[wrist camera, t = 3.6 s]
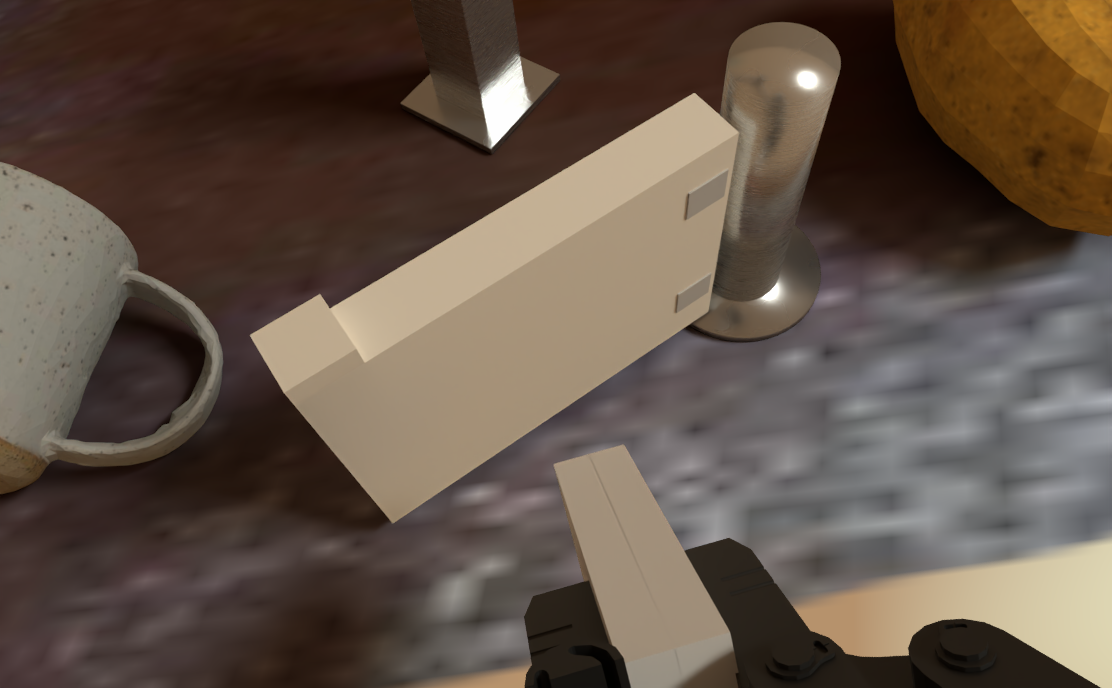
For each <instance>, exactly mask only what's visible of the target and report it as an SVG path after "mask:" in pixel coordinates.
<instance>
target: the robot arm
mask: <svg viewBox="0 0 1112 688" xmlns="http://www.w3.org/2000/svg"><path fill="white" fill-rule="evenodd" d="M554 468H555V472H556V476H557V480H558V484H559V487H560V491H561V495H562V499H563V503H564V507H565V510H566V514H567V518H568V522H569V526H570V530H571V534H572V537H573V541H574V545H575V549H576V553H577V557H578V560H579V564H580V568H581V572H582V576H583V579H584V582H581V583H578V584H574V585H571V586H567V587H564V588H560V589H557V590H554V591H550V592H547V593H543V594H540V595H536V596H533V598H532V600H531V602H530V605H529V607H528V609H527V612H526V614H525V616H524V619H525V625H526V631H527V637H528V643H529V649H530V654H531V661H532V666H531V667H530V669H529V670H528V672H527V674H526V680H525V688H1100V687H1098V686H1097V685H1095V684H1093V683H1092V682H1090V681H1088V680H1087V679H1085V678H1083V677H1082V676H1080V675H1078V674H1077V673H1075V672H1073V671H1071V670H1069V669H1068V668H1066V667H1065V666H1063V665H1061V664H1060V663H1058V662H1056V661H1055V660H1053V659H1051V658H1049V657H1048V656H1046V655H1044V654H1043V653H1041V652H1039V651H1038V650H1036V649H1034V648H1032V647H1031V646H1029V645H1027V644H1026V643H1024V642H1022V641H1021V640H1019V639H1017V638H1016V637H1014V636H1012V635H1010V634H1009V633H1007V632H1005V631H1004V630H1001V629H999V628H997V627H994V626H992V625H990V624H987V623H985V622H979V621H973V620H966V619H954V620H942V621H938V622H935V623H932V624H930V625H926V626H924V627H923V628H922V629H921V630H920V631H918V632H917V633H916V634H914V635H913V637H912V639H911V642H910V645H909V647H908V650H909V656H892V657H891V656H890V657H859V656H854V655H848V654H845V653H844V651H843V650H842V648H841V647H839V646H838V645H837V644H836V643H835V642H834V641H832V640H831V639H830V638H828V637H826V636H823V635H820V634H818V633H815V632H812V631H810V630H809V628H808V627H807V626H806V624H805V623H804V622H803V620H802V619H801V617H800V616H799V615H798V613H797V612H796V611H795V609H794V608H793V606H792V605H791V604H790V602H789V601H788V600H787V598H786V597H785V595H784V594H783V593H782V591H781V590H780V589H779V587H778V586H777V584H776V583H775V584H774V581H773V579H772V577H771V576H770V575H769V573H768V572H767V571H766V569H765V570H764V567H763V565H762V564H761V562H760V561H759V560H758V558H757V557H756V555H755V554H754V553H753V551H752V550H751V549H749V548H748V547H746V546H744V545H742V544H740V543H738V542H736V541H734V540H732V539H730V538H727V539H723V540H720V541H716V542H713V543H709V544H706V545H702V546H699V547H695V548H692V549H688V550H685V551H684V550H683V548H682V546H681V545H680V543H679V541H678V539H677V538H676V536H675V534H674V532H673V530H672V529H671V527H670V525H669V523H668V522H667V520H666V518H665V516H664V515H663V513H662V511H661V509H660V508H659V506H658V504H657V502H656V500H655V499H654V497H653V495H652V493H651V492H650V490H649V488H648V486H647V485H646V483H645V481H644V479H643V478H642V476H641V474H640V472H639V471H638V469H637V467H636V465H635V463H634V462H633V460H632V458H631V456H630V455H629V453H628V451H627V449H626V448H625V446H624V445H621V446H617V447H613V448H610V449H606V450H602V451H599V452H595V453H592V454H588V455H584V456H581V457H577V458H574V459H570V460H566V461H563V462H559V463H556V464H554Z"/></svg>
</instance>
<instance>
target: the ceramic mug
mask: <svg viewBox="0 0 1112 688" xmlns="http://www.w3.org/2000/svg"><path fill="white" fill-rule="evenodd" d="M130 296H132V297H137V298H140V299H142V300H144V301H147V302H150V303H152V304H154V305H156V306H158V307H160V308H162V309H164V310H166V311H168V312H170V313H171V314H173V315H174V316H175V317H177V318H178V319H180V320H181V321H183V322H184V323H185V324H187V325H188V326H189V327H190V328H191V329H192V330H193V331H194V332H195V334H196V335H197V336H198V337H199V338H200V340H201V341H202V344H203V346H204V348H205V353H206V355H205V362H204V366H203V369H202V372H201V375H200V377H199V379H198V381H197V383H196V386H195V388H194V390H193V392H192V394H191V396H190V399H189V400H188V401H186V402H185V403H184V404H182V405H181V406H180V407H178V408H177V409H176V410H175V411H173V412H172V414H171V419H170V422H169V424H165V425H162V426H161V427H160V428H159V429H158V430H157V431H156V433H155V434H152V435H150V436H147V437H144V438H140V439H136V440H129V441H126V442H123V443H120V444H118V443H96V442H82V441H78V440H67V439H66V438H67V436H68V433H69V431H70V428H71V425H72V422H73V420H74V418H75V416H76V414H77V412H78V410H79V407H80V404H81V400H82V397H83V394H84V391H85V388H86V386H87V383H88V381H89V379H90V376H91V374H92V372H93V370H94V368H95V366H96V364H97V362H98V361H99V358H100V356H101V354H102V352H103V349H104V348H105V346H106V344H107V341H108V340H109V338H110V335H111V333H112V330H113V328H114V326H115V323H116V321H117V320H118V319H119V316H120V312H121V309H122V308H123V305H124V303H125V301H126V299H127V298H128V297H130ZM222 365H223V354H222V349H221V345H220V342H219V338H218V334H217V332H216V331H215V329H214V327H213V326H212V324H211V323H210V321H209V320H208V319H207V317H206V316H205V315H204V314H203V313H202V311H201V310H200V309H199V308H198V307H197V306H196V305H195V303H194V302H192V301H191V300H189V299H188V298H187V297H185V296H184V295H182V294H181V293H179V292H178V291H176V290H175V289H173V288H172V287H170V286H168V285H166V284H165V283H163V282H161V281H159V280H157V279H155V278H153V277H150V276H148V275H145V274H143V273H141V272H139V271H138V260H137V254H136V252H135V249H134V247H133V246H132V244H131V242H130V241H129V239H128V238H127V236H126V235H125V234H124V233H123V231H122V230H121V229H120V228H119V227H118V226H117V225H116V224H114V223H113V222H112V221H111V220H110V219H109V218H108V217H106V216H105V215H104V214H103V213H101V212H100V211H99V210H98V209H96V208H95V207H94V206H92V205H90V204H89V203H87V202H85V201H84V200H82V199H81V198H79V197H77V196H75V195H73V194H72V193H70V192H69V191H67V190H65V189H64V188H62V187H61V186H58V185H55V184H53V183H51V182H49V181H47V180H45V179H43V178H41V177H39V176H36V175H34V174H32V173H30V172H27V171H25V170H22V169H20V168H18V167H15V166H12V165H9V164H5V163H2V162H0V494H5V493H9V492H13V491H16V490H19V489H21V488H23V487H25V486H28V485H30V484H32V483H33V482H35V481H36V480H37V479H38V478H39V477H40V476H41V474H42V473H43V471H44V470H45V468H46V467H47V466H48V465H49V464H50V463H51V462H52V461H55V460H58V459H59V460H63V461H67V462H71V463H76V464H79V465H83V466H94V467H100V466H126V465H133V464H138V463H143V462H147V461H151V460H154V459H156V458H159V457H162V456H164V455H167V454H168V453H170V452H172V451H173V450H175V449H177V448H178V447H179V446H181V445H182V444H183V443H185V442H186V441H187V440H188V439H189V438H191V437H192V436H193V435H194V434H195V433H196V432H197V431H198V430H199V429H200V428H201V427H202V426H203V424H204V423H205V421H206V420H207V418H208V417H209V415H210V413H211V411H212V409H213V407H214V404H215V402H216V400H217V398H218V394H219V391H220V386H221V381H222Z"/></svg>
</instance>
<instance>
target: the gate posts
mask: <svg viewBox="0 0 1112 688" xmlns="http://www.w3.org/2000/svg"><path fill="white" fill-rule="evenodd" d="M411 2H412V6H413V10H414V14H415V17H416V21H417V25H418V29H419V32H420V36H421V40H422V44H423V48H424V51H425V55H426V59H427V63H428V66H429V70H430V74H429V75H428V76H427V77H426V78H425V79H424V80H423V81H422V82H421V83H420V84H419V85H418V86H417V87H416V88H415V89H414V90H413V91H412V92H411V93H410V94H409V95H408V96H407V97H406V98H405V99H404V100H403V101H402V102H401V103H400V104H401V107H402V109H403V110H405V111H407V112H409V113H411V114H413V115H415V116H417V117H419V118H421V119H423V120H425V121H427V122H429V123H431V124H433V125H435V126H437V127H439V128H441V129H443V130H445V131H447V132H449V133H451V134H452V135H454V136H456V137H458V138H460V139H462V140H464V141H466V142H468V143H470V144H472V145H474V146H476V147H478V148H480V149H482V150H484V151H486V152H488V153H490V154H493V153H494V152H495V151H496V150H497V149H498V148H499V146H500V145H501V144H502V143H503V142H504V141H505V140H506V139H507V138H508V137H509V136H510V134H511V133H512V132H513V131H514V130H515V129H516V128H517V127H518V126H519V125H520V124H521V122H522V121H523V120H524V119H525V118H526V117H527V116H528V115H529V114H530V113H531V112H532V110H533V109H534V108H535V107H536V106H537V105H538V104H539V103H540V102H541V101H542V100H543V98H544V97H545V96H546V95H547V94H548V93H549V92H550V91H551V90H552V89H553V88H554V86H555V85H556V84H557V83H558V82H559V81H560V74H558V73H555V72H553V71H551V70H549V69H547V68H544V67H542V66H540V65H538V64H535V63H533V62H531V61H529V60H527V59H524V58H522V57H520V52H519V45H518V38H517V31H516V23H515V16H514V9H513V2H512V0H411ZM840 68H841V59H840V55H839V52H838V50H837V48H836V47H835V45H834V44H833V43H832V42H831V41H830V40H829V39H828V38H827V37H826V36H825V35H823V34H822V33H820V32H819V31H817V30H815V29H813V28H810V27H807V26H805V25H801V24H796V23H789V22H774V23H767V24H762V25H759V26H756V27H754V28H751V29H749V30H747V31H746V32H744V33H743V34H741V35H740V36H739V37H738V38H737V39H736V40H735V41H734V43H733V44H732V46H731V48H730V50H729V53H728V60H727V68H726V75H725V82H724V89H723V96H722V103H721V111H720V116H721V117H722V118H723V119H725V120H726V121H727V122H728V123H729V124H730V125H731V126H732V127H734V128H735V129H736V130H737V131H738V132H739V136H738V142H737V148H736V154H735V160H734V165H733V171H732V177H731V183H730V189H729V194H728V200H727V206H726V212H725V218H724V223H723V229H722V235H721V241H720V247H719V252H718V258H717V264H716V270H715V276H714V281H713V287H712V293H711V299H710V305H709V310H708V312H707V313H706V314H704V315H703V316H701V317H700V318H698V319H697V320H695V321H694V322H692V323H691V324H689V325H690V326H691V327H693V328H694V329H696V330H698V331H700V332H702V333H704V334H706V335H709V336H712V337H714V338H718V339H722V340H728V341H735V342H750V341H759V340H764V339H768V338H771V337H774V336H777V335H779V334H781V333H784V332H786V331H787V330H789V329H790V328H792V327H793V326H795V325H796V324H797V323H798V322H800V321H801V320H802V319H803V318H804V317H805V315H806V314H807V313H808V312H809V310H810V308H811V307H812V305H813V303H814V301H815V298H816V296H817V293H818V290H819V286H820V280H821V270H820V263H819V259H818V256H817V253H816V251H815V249H814V247H813V245H812V244H811V242H810V240H809V239H808V238H807V237H806V235H805V234H804V233H803V232H802V231H801V230H800V229H799V228H798V227H797V226H796V225H794V224H795V221H796V218H797V214H798V211H799V207H800V204H801V201H802V197H803V194H804V191H805V187H806V184H807V180H808V177H809V174H810V170H811V167H812V164H813V160H814V157H815V153H816V150H817V147H818V143H819V140H820V136H821V133H822V130H823V126H824V123H825V120H826V116H827V113H828V109H829V106H830V103H831V99H832V96H833V93H834V89H835V86H836V82H837V79H838V76H839V72H840Z"/></svg>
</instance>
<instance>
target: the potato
mask: <svg viewBox="0 0 1112 688" xmlns="http://www.w3.org/2000/svg"><path fill="white" fill-rule="evenodd" d="M893 4H894V17H895V34H896V44H897V47H898V50H899V53H900V56H901V59H902V62H903V65H904V68H905V71H906V74H907V77H908V80H909V83H910V86H911V89H912V91H913V94H914V97H915V100H916V103H917V106H918V109H919V111H920V113H921V114H922V115H923V116H924V118H925V119H926V120H927V121H928V123H929V124H930V125H931V127H932V128H933V129H934V130H935V132H936V133H937V134H938V135H939V137H940V138H941V139H942V141H943V142H944V143H945V144H947V145H948V146H949V147H950V148H951V149H953V150H954V151H955V152H956V153H958V154H959V155H960V156H961V157H962V158H964V159H965V160H966V161H967V162H969V163H970V164H971V165H972V166H973V167H975V168H976V169H977V170H978V171H979V172H980V173H981V174H982V175H984V176H985V177H986V178H987V179H988V180H989V181H990V182H991V183H992V184H993V185H994V186H995V187H996V188H997V189H998V190H999V191H1000V192H1001V193H1002V194H1003V195H1004V196H1005V197H1006V198H1007V199H1008V200H1009V201H1011V202H1013V203H1014V204H1016V205H1017V206H1019V207H1021V208H1022V209H1024V210H1025V211H1027V212H1029V213H1030V214H1032V215H1033V216H1035V217H1037V218H1038V219H1040V220H1041V221H1043V222H1045V223H1046V224H1048V225H1049V226H1052V227H1058V228H1064V229H1070V230H1076V231H1081V232H1087V233H1093V234H1099V235H1104V236H1111V235H1112V0H893Z"/></svg>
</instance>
